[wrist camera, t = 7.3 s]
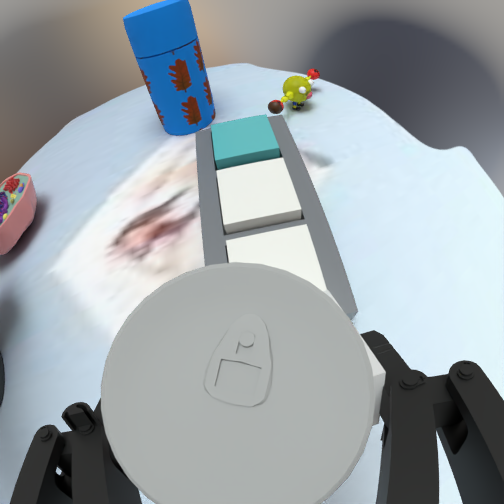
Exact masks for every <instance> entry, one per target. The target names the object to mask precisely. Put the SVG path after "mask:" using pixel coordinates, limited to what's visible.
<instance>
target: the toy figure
mask: <svg viewBox="0 0 504 504" xmlns="http://www.w3.org/2000/svg"><path fill="white" fill-rule="evenodd" d="M307 76H308V77H305V78H304V77H301V76H292V77H289V78H288V79H287V80H286V81H285V82H284V84H283V93H284V95H285V96H283V97H282V98H281V101H279V100H273V101H271V102H270V103H269V104H268V109H269V111H270V112H271V113H273V114H279V113H281V111H282V110H283V108H284V106H283V102H287V101H288V100H291V101H293V107H292V108H293V109H296V110H300V107H296V102H298V103H297V105H299V106H303V105H304V104H303V103H301V102H302V101H305V100H306V99H309V98H311V97H312V92H311V86H313V84H314V82H313V80H315V79H317V78H319V76H320V74H319V71H318V70H316V69H310V70H309V71H308V72H307ZM310 79H312V80H310Z"/></svg>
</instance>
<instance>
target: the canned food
mask: <svg viewBox="0 0 504 504" xmlns="http://www.w3.org/2000/svg"><path fill="white" fill-rule="evenodd" d="M374 406H375V388H374V379H373V371H372V366H371V363H370V360H369V357H368V354H367V351H366V348H365V345H364V342H363V340H362V339H361V337H360V335H359V334H358V332H357V330H356V328H355V327H354V325H353V323H352V322H351V320H350V318H349V317H348V316H347V315H346V314H345V313H344V311H343V310H342V309H341V308H340V307H339V306H338V305H337V304H336V303H335V302H334V300H333V299H332V298H331V297H329V296H328V295H327V294H325V293H324V292H323V291H321V290H320V289H319V288H317V287H316V286H315V285H313V284H312V283H311V282H309V281H307V280H305V279H303V278H301V277H299V276H297V275H294V274H292V273H290V272H288V271H286V270H282V269H279V268H275V267H271V266H267V265H263V264H256V263H242V262H231V263H223V264H214V265H208V266H205V267H202V268H199V269H195V270H192V271H189V272H186V273H184V274H182V275H180V276H178V277H176V278H174V279H172V280H170V281H168V282H166V283H164V284H163V285H162V286H160V287H159V288H158V289H156V290H155V291H154V292H152V293H151V294H150V295H149V296H147V297H146V298H145V299H144V300H143V301H142V302H141V303H140V304H139V305H138V306H137V307H136V308H135V310H134V311H133V312H132V313H131V314H130V315H129V316H128V317H127V319H126V321H125V322H124V324H123V325H122V327H121V329H120V330H119V332H118V333H117V335H116V337H115V339H114V341H113V343H112V346H111V348H110V351H109V354H108V356H107V359H106V362H105V367H104V372H103V377H102V383H101V412H102V417H103V423H104V428H105V433H106V436H107V438H108V441H109V444H110V446H111V449H112V451H113V453H114V456H115V458H116V460H117V461H118V463H119V464H120V466H121V467H122V469H123V471H124V472H125V474H126V475H127V477H128V478H129V479H130V480H131V481H132V483H133V484H134V485H135V486H136V487H137V488H138V489H139V490H140V491H141V492H142V493H143V494H144V495H145V496H146V497H147V498H148V499H150V500H151V501H153V502H154V503H155V504H321V503H322V502H323V501H325V500H326V499H328V498H329V497H330V496H331V495H332V494H333V493H334V492H335V491H336V490H337V489H338V488H339V487H340V486H341V484H342V483H343V482H344V481H345V480H346V479H347V478H348V477H349V475H350V474H351V472H352V470H353V469H354V467H355V465H356V464H357V462H358V460H359V459H360V457H361V455H362V454H363V451H364V449H365V446H366V443H367V440H368V437H369V434H370V431H371V428H372V424H373V415H374Z"/></svg>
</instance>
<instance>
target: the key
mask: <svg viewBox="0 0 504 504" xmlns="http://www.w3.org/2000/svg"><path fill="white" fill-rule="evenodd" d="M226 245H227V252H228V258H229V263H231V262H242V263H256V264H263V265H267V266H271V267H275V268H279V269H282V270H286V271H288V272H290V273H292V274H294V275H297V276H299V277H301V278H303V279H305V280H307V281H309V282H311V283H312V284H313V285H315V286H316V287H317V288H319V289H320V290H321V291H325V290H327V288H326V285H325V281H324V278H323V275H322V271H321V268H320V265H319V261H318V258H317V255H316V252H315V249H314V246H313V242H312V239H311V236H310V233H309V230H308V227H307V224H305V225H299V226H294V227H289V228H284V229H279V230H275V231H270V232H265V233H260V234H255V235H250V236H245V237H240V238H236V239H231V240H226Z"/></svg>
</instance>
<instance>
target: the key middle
mask: <svg viewBox="0 0 504 504" xmlns="http://www.w3.org/2000/svg"><path fill="white" fill-rule="evenodd" d="M217 179H218V187H219V194H220V202H221V209H222V216H223V224H224V227H225V230H226V233H227V235H229V234H234V233H239V232H244V231H249V230H253V229H258V228H263V227H268V226H273V225H278V224H283V223H288V222H293V221H298V220H301V206H300V203H299V200H298V198H297V195H296V192H295V189H294V186H293V183H292V181H291V178H290V175H289V172H288V170H287V167H286V164H285V162H284V159H283V158H277V159H272V160H266V161H261V162H256V163H251V164H246V165H241V166H236V167H231V168H226V169H222V170H217Z"/></svg>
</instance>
